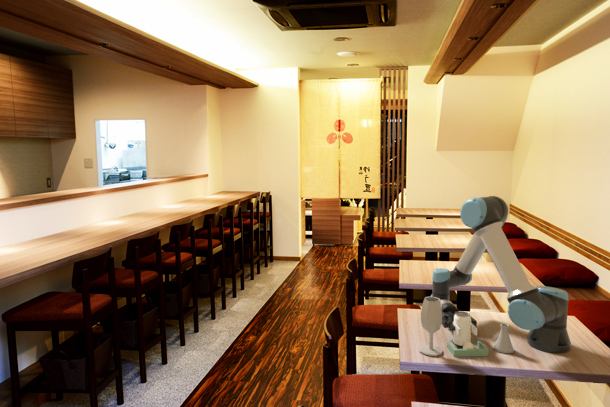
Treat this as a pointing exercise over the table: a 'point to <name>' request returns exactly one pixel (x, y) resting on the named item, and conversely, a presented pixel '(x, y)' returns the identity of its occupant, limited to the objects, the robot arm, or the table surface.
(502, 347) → the flask
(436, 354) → the wineglass
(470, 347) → the ball
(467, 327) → the can
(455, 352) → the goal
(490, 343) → the table surface
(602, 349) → the table surface
